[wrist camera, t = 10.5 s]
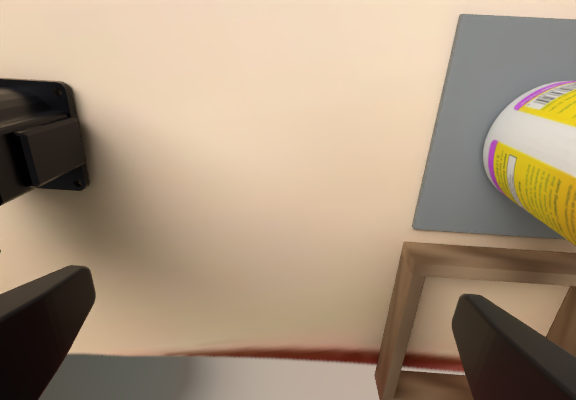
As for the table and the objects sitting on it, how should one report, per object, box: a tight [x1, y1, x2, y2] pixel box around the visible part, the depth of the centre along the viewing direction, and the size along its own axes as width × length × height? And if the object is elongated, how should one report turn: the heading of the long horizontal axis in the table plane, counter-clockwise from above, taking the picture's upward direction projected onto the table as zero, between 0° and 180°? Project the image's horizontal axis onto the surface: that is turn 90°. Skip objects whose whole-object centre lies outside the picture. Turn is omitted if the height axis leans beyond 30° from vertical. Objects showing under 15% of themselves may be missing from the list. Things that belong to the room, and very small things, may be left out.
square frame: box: [375, 242, 576, 400], centre depth 23 cm, size 13×13×2 cm
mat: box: [412, 14, 576, 239], centre depth 19 cm, size 12×12×1 cm
